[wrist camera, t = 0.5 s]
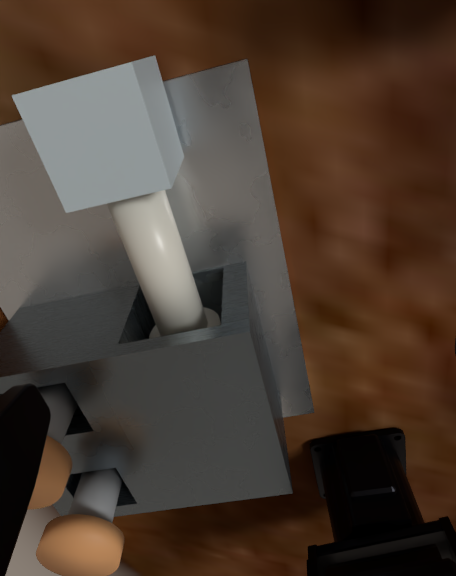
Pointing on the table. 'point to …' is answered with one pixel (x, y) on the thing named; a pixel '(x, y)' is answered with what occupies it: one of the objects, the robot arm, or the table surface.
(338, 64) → the table surface
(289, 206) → the table surface
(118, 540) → the plunger
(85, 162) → the cube-topped plunger
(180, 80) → the grey slotted base
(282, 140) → the table surface
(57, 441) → the plunger
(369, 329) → the table surface
